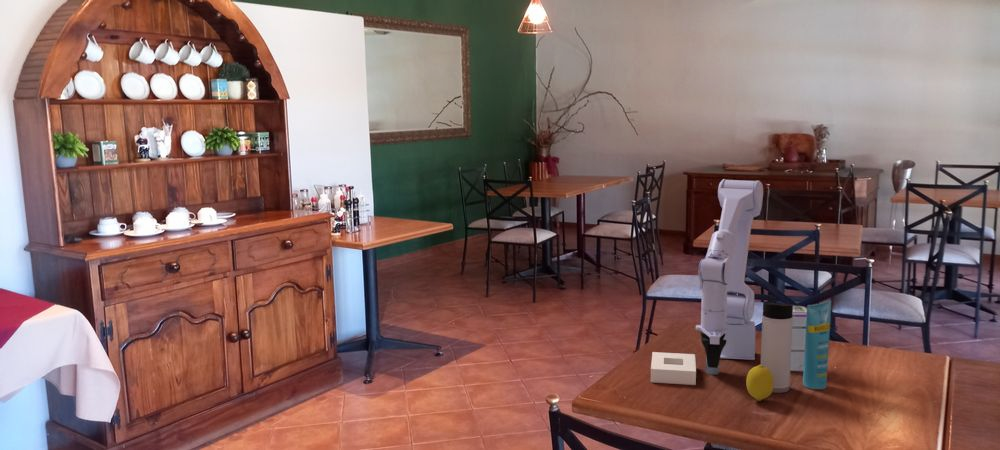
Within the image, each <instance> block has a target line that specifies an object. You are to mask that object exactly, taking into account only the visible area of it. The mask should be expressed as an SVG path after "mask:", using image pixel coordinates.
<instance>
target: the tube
mask: <svg viewBox="0 0 1000 450" xmlns="http://www.w3.org/2000/svg"><path fill="white" fill-rule="evenodd" d="M806 309H807V315H806V335H805V354H804V371H802V372H803V375H802V385H803V386H804V387H805V388H807V389H811V390H825V389H826V388H827V381H828V379H827V378H828V360H829V345H830V331H831V315H832V314H831V313H832V312H831V311H832V300H826V301H824V302H820V303H814V304H808V305H807V306H806Z"/></svg>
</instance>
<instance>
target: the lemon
mask: <svg viewBox="0 0 1000 450" xmlns="http://www.w3.org/2000/svg"><path fill="white" fill-rule="evenodd" d="M745 379H746V380H745V381H746V382H745V385H746V389H747V392H748V393H749V395H750V396H751V397H753V398H754V399H756V400H757V401H758V402H761V401H762V400H763V399H764V400H765V399H766V398H769V397H770V395H771V394H773V392H772V391H773V387H774V381H773V376H772V373H771V372H770V371H769V370H768V369H767V368H766V367H763V366H762V365H761V364H758V365H756V366H753V367H752V368H751V369H750V370H748V373H747V375H746V378H745Z"/></svg>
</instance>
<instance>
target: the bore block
mask: <svg viewBox="0 0 1000 450" xmlns="http://www.w3.org/2000/svg"><path fill="white" fill-rule="evenodd" d="M651 354H652V355H651V362H650V363H651V364H650V383H655V384H656V383H659V384H672V385H673V384H675V385H687V386H688V385H691V386H696V385H697V383H696V381H697V380H696V378H697V365H696V355H695V353H694V354H693V353H677V352H675V353H673V352H656V351H652V353H651Z"/></svg>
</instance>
